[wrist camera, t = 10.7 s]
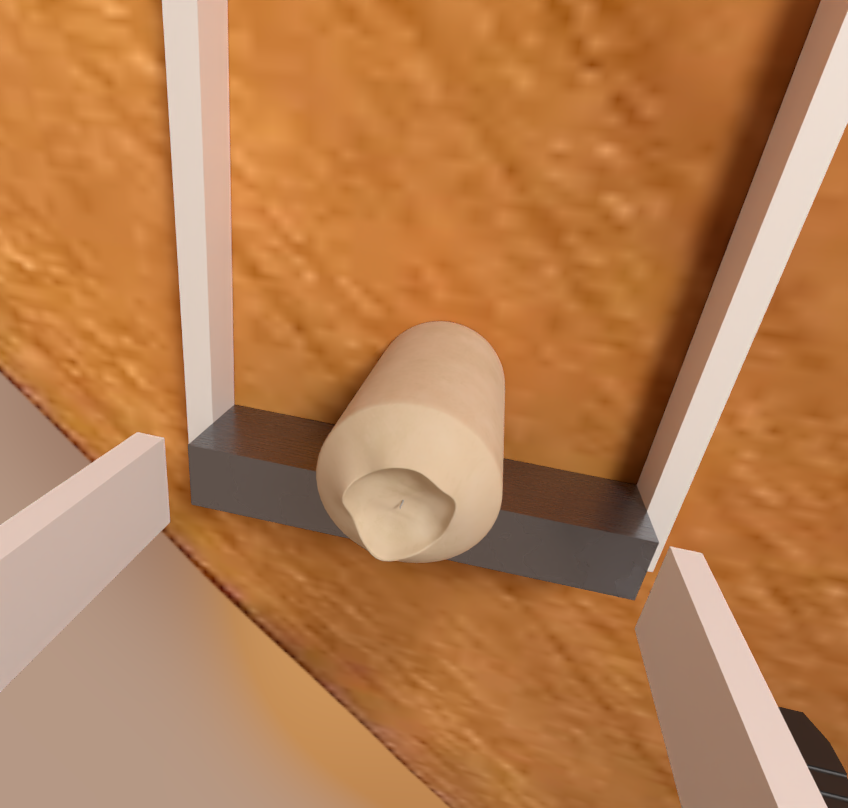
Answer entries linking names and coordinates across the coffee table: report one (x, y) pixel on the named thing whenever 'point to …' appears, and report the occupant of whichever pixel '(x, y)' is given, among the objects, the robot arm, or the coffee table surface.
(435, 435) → the candle
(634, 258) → the coffee table surface
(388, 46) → the coffee table surface
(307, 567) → the coffee table surface
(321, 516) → the guide track
